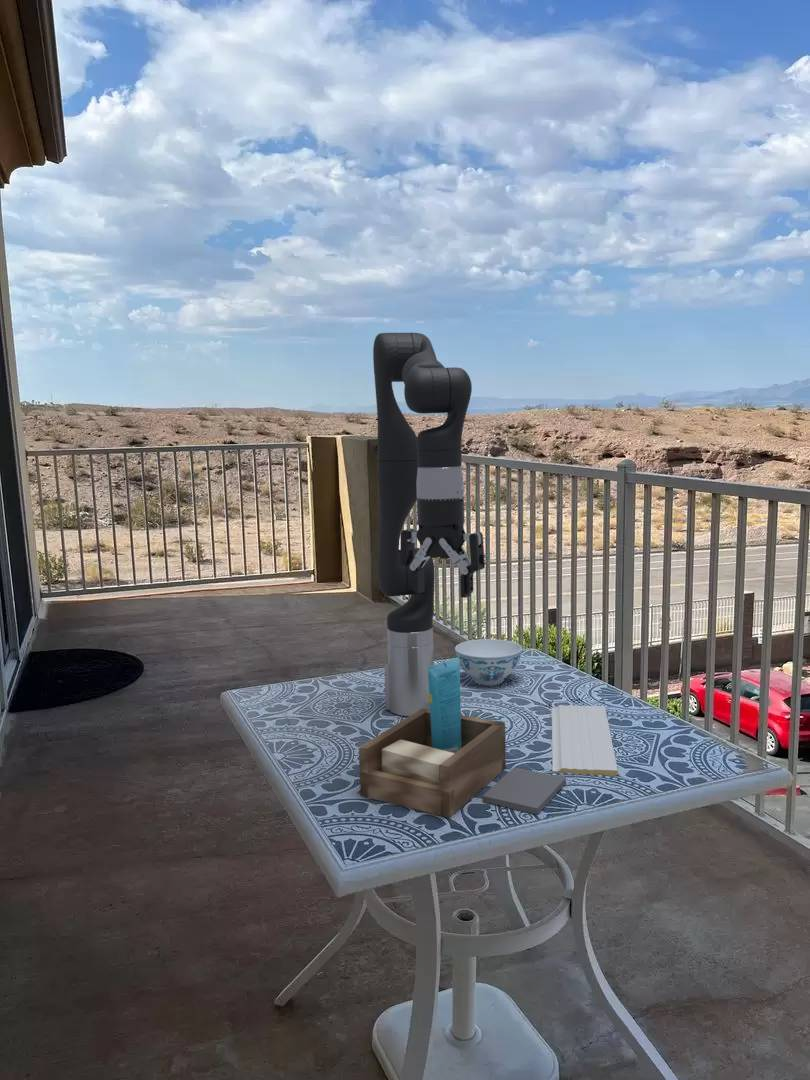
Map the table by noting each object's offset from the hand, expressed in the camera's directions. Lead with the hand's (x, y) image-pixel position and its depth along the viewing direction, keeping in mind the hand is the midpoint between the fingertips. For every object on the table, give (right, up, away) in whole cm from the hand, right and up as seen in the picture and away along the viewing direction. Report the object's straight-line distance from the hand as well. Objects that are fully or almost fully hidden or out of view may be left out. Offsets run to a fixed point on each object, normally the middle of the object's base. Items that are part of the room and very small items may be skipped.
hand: (442, 594), depth 134 cm
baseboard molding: (+26, -28, +18) cm, 42 cm away
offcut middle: (-4, -29, -4) cm, 30 cm away
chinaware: (+13, -23, +53) cm, 59 cm away
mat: (+13, -31, -4) cm, 34 cm away
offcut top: (-4, -27, -4) cm, 27 cm away
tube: (+1, -30, +4) cm, 31 cm away
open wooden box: (-1, -31, +1) cm, 31 cm away
